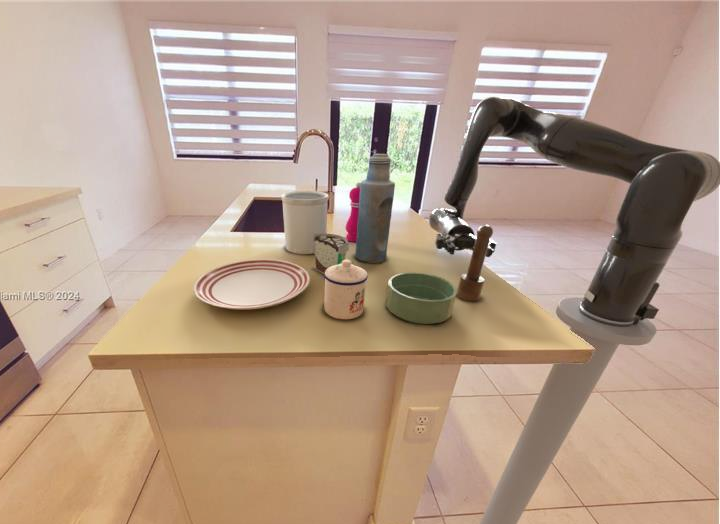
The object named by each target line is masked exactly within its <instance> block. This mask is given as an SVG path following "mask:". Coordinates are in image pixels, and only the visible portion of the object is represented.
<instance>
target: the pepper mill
mask: <svg viewBox="0 0 720 524" xmlns="http://www.w3.org/2000/svg"><path fill="white" fill-rule="evenodd" d="M360 184H361V182H356V184H355V187H353V188H351V189H350V191H349V193H348V194H349V196H348V197H349V200H350V201H349V202H350V204H349V206H350V215H349V217H348V220H347V221H346V224H345V230H346V234H345V235H346V237H345V238H346V239H347V242H353V243H356V241H357V226H358V213H359V198H360Z"/></svg>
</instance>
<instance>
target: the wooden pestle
mask: <svg viewBox="0 0 720 524" xmlns="http://www.w3.org/2000/svg"><path fill="white" fill-rule="evenodd" d="M493 234H494V229H493V227H492V226H490V225H488V224H483V225H480V226H479V227H478V228H477V229H476V236H475V237H476V241H475V245H474V249H473V251H472V253H471V257H470V260H469V264H468V269H467V273H461V275H460V278H459V281H458V285H457V288H456V289H457V294H456V297H458V298H459V299H460V300H463V301H467V302H476V301H479V300H480V297H481V294H482V291H483V287H484V284H485V278H484V277H483V276H482V275H481V274H482V270H483V266H484V263H485V259H486V252H487V249H488V245H489V242H490V238H491V239H492V236H493Z"/></svg>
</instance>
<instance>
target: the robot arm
mask: <svg viewBox="0 0 720 524" xmlns="http://www.w3.org/2000/svg"><path fill="white" fill-rule="evenodd" d="M490 137H491V138H495V137H496V138H497V137H499V138H508V139H512V140H516V141H519V142H521V143H525V144H526V145H528V146H529V147H530V148H531V149H532V150H533V151H534V152H535V153H536V154H537V155H538V156H539V157H541V158H542V159H545V160H547V161H550V162H552V163H554V164H556V165H558V166H561V167H564V168H567V169H571V170H575V171H579V172H583V173H584V172H585V173H589V174H595V175H600V176H606V177H610V178H615V179H617V180H621V181H623V182H624V183H628V184H629V187H628V188H627V191H626V193H625V195H624V198H623V200H622V202H621V205H620V208H619V210H618V213H617V215H616V218H615V230H614V232H613V234H612V237H611V239H610V241H609V243H608V246H607V247H606V250H605V251H604V254H603V256H602V258H601V261H600V262H599V265H598V266H597V269H596V271H595V273H594V275H593V277H592V280H591V282H590V284H589V286H588V288H587V289H586V291H585V292H584V295H583V298H584V299H583V301H582V303H581V304H580V306H579V311H580V312H581V313H582V314H583V315H585V316H586V317H588V318H590V319H593V320H595V321H598V322H600V323H604V324H607V325H612V326H619V327H627V326H631V325H632V324H634V325H637V324H638V322H639V320H641V321H642V320H643V319H645V318H646V319H648V320H654V319H655V318H656V316H657V314H658V312H659V311H660V309H659V308H657V307H656V306H654V305H653V304H651V302H652V300H653V298H654V296H655V295H656V293H657V291H658V290H659V288H660V286H661V285H660V283H659V282H657V281H658V279H659V277H660V276H661V274H662V272H663V270H664V269H665V267H666V265H667V263H668V261H669V260H670V258H671V256H672V254H673V253H674V251H675V249H676V247H677V246H678V244H679V242H680V241H681V239H682V237H683V230H682V225H683V222H684V221H685V218H686V217H687V214H688V213H689V210H690V209H691V207H692V205H693V203H694V202H697V201H699V200H701V199H704V198H705V197H708V196H709V195H711V194H712V193H713V192H715V191H716V190H717V189H718V188H719V187H720V161H719V160H718V158H716V157H715V156H714V155H712V154H709V153H707V152H703V151H697V150H689V149H683V148H677V147H671V146H666V145H661V144H656V143H651V142H648V141H644V140H642V139H638V138H637V137H634V136H631V135H629V134H627V133H625V132H622V131H619V130H616V129H614V128H611V127H608V126H605V125H602V124H600V123H597V122H594V121H592V120H591V121H590V120H587V119H584V118H580V117H576V116H571V115H567V114H561V113H556V112H548V111H542V110H539V109H537V108H535V107H532V106H531V105H528V104H525V103H524V102H522V101H520V100H518V99H515V98H512V97H506V96H505V97H504V96H488V97H486V98H484V99H482V100H481V101H480V102H479V103H478V104H477V105H476V106H475V108H474V110H473V112H472V115H471V117H470V120H469V124H468V127H467V131H466V135H465V138H464V141H463V145H462V149H461V152H460V156H459V159H458V162H457V166H456V169H455V171H454V174H453V177H452V179H451V181H450V183H449V185H448V188H447V190H446V192H445V194H444V198H443V199H444V202H445V204H447V205H448V206H450V207H452V208H454V210H453V209H449V208H445V207H436V208H434V209H433V210H432V211H431V212H430V215H429V218H428V224H429V227H430V228H431V229H432V230H433V231H435V232H437V233H436V237H435V240H434V241H435V242H434V245H435V247H436V249H437V250H442V249H444V251H446V252H447V253H449V254H450V256H451V255H455V251H457V252H460V251H464V250H469V251H472V252H473V249H474V245H475V241H476V237H477V236H476V235H475V232H474V230H473V228H472V227H471V226H470V225H469V224H468V223H467V222H466V221H464V214H465V210H466V206H467V203H468V201H469V199H470V197H471V195H472V193H473V191H474V189H475V187H476V185H477V182H478V178H479V177H478V176H479V163H480V162H479V161H480V156H481V153H482V150H483V148H484V146H485V145H486V143H487V142H488V139H489V138H490ZM497 245H498V243H497V242H496V241H494V240H493V239H492V237H491V238H490V242H489V245H488V249H487V252H486V256H485V258H490V257H491V256H493V253H495V250H496V246H497Z"/></svg>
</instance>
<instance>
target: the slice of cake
mask: <svg viewBox="0 0 720 524" xmlns="http://www.w3.org/2000/svg"><path fill="white" fill-rule="evenodd" d="M313 241H314V248H315V254H314V266H315V270H316V271H318V272H319V273H321V274H323V275H324V273H325V271H326V269H327V268H329V267H331V266H334V265H338V264H341V263H342V261H343V260H346V256H347V252H348V251H349V250H350V246H349V241H348V240H347V239H346V237H345V236H342V235H339V234H333V233H327V234H314V237H313Z"/></svg>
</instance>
